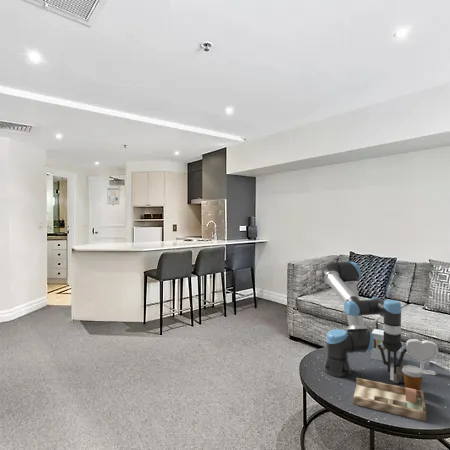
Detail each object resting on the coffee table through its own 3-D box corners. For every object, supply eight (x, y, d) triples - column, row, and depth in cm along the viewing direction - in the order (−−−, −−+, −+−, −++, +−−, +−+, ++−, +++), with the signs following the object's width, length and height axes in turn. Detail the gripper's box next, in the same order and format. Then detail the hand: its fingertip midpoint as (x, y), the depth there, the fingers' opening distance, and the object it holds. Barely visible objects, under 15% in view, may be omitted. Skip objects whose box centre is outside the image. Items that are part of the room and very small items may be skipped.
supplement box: (371, 358, 202) (370, 332, 202) (373, 353, 210) (373, 328, 209) (387, 362, 197) (387, 335, 196) (390, 357, 204) (389, 331, 204)
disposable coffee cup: (423, 399, 157) (423, 375, 157) (401, 394, 162) (401, 370, 162) (423, 390, 165) (423, 367, 165) (402, 385, 170) (402, 363, 170)
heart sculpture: (407, 370, 186) (407, 340, 185) (406, 367, 190) (406, 337, 190) (438, 375, 179) (438, 344, 179) (437, 371, 184) (436, 340, 184)
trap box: (353, 403, 155) (353, 392, 155) (356, 387, 169) (356, 377, 169) (425, 421, 141) (425, 409, 141) (423, 402, 155) (422, 391, 155)
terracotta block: (405, 400, 152) (405, 391, 152) (405, 396, 156) (405, 387, 156) (416, 403, 150) (416, 393, 150) (415, 398, 154) (415, 389, 154)
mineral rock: (415, 378, 177) (415, 360, 177) (419, 388, 167) (419, 369, 167) (389, 374, 182) (389, 357, 182) (391, 384, 172) (391, 365, 172)
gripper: (377, 332, 156) (377, 379, 157) (407, 337, 150) (407, 386, 151) (377, 327, 162) (377, 372, 164) (407, 331, 156) (406, 378, 158)
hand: (391, 379), depth 157 cm, fingers closed
